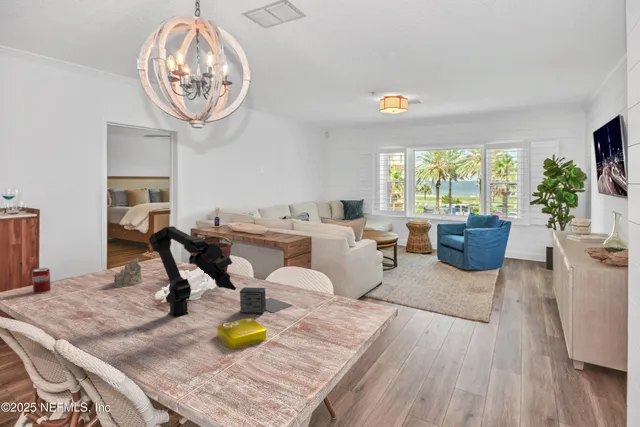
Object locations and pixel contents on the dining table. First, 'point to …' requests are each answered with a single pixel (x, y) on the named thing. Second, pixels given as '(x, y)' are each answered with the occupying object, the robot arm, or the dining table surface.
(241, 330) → the element tile
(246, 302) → the small box
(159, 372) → the dining table surface
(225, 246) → the bucket
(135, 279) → the jagged grey rock
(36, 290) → the soda can
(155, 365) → the dining table surface
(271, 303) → the dark rubber mat
